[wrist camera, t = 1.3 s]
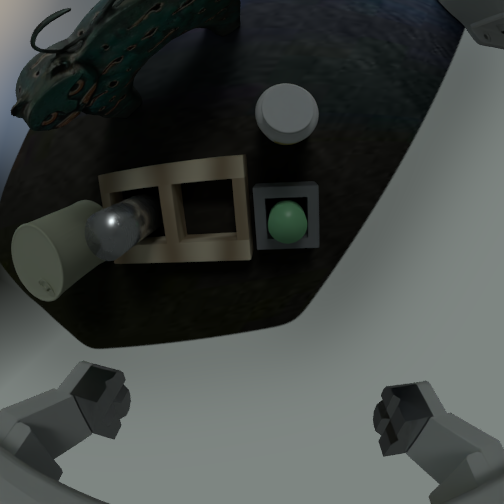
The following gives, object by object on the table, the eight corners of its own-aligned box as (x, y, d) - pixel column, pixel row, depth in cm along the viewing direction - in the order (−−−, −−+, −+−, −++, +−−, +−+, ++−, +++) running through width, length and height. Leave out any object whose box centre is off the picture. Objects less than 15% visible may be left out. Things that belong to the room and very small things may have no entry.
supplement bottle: (320, 117, 28) (338, 105, 19) (290, 154, 30) (294, 158, 21) (280, 87, 27) (280, 62, 18) (250, 124, 29) (236, 115, 20)
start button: (304, 198, 28) (306, 204, 26) (305, 233, 30) (307, 242, 27) (268, 200, 29) (266, 206, 26) (270, 234, 30) (269, 244, 27)
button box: (314, 181, 31) (318, 185, 27) (315, 237, 33) (319, 247, 30) (255, 183, 31) (252, 188, 28) (259, 239, 33) (257, 249, 30)
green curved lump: (121, 134, 30) (-12, 144, 12) (97, 99, 29) (-30, 90, 10) (255, 30, 25) (223, -84, 6) (223, -2, 23) (168, -109, 5)
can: (87, 273, 38) (38, 314, 27) (56, 221, 35) (0, 249, 24) (127, 245, 35) (74, 286, 24) (93, 186, 33) (29, 208, 22)
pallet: (246, 154, 30) (242, 155, 27) (253, 250, 34) (250, 259, 31) (111, 172, 32) (98, 175, 29) (125, 255, 36) (114, 263, 33)
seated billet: (162, 190, 32) (120, 208, 23) (168, 229, 34) (130, 260, 25) (128, 194, 33) (80, 214, 24) (134, 231, 35) (90, 261, 25)
